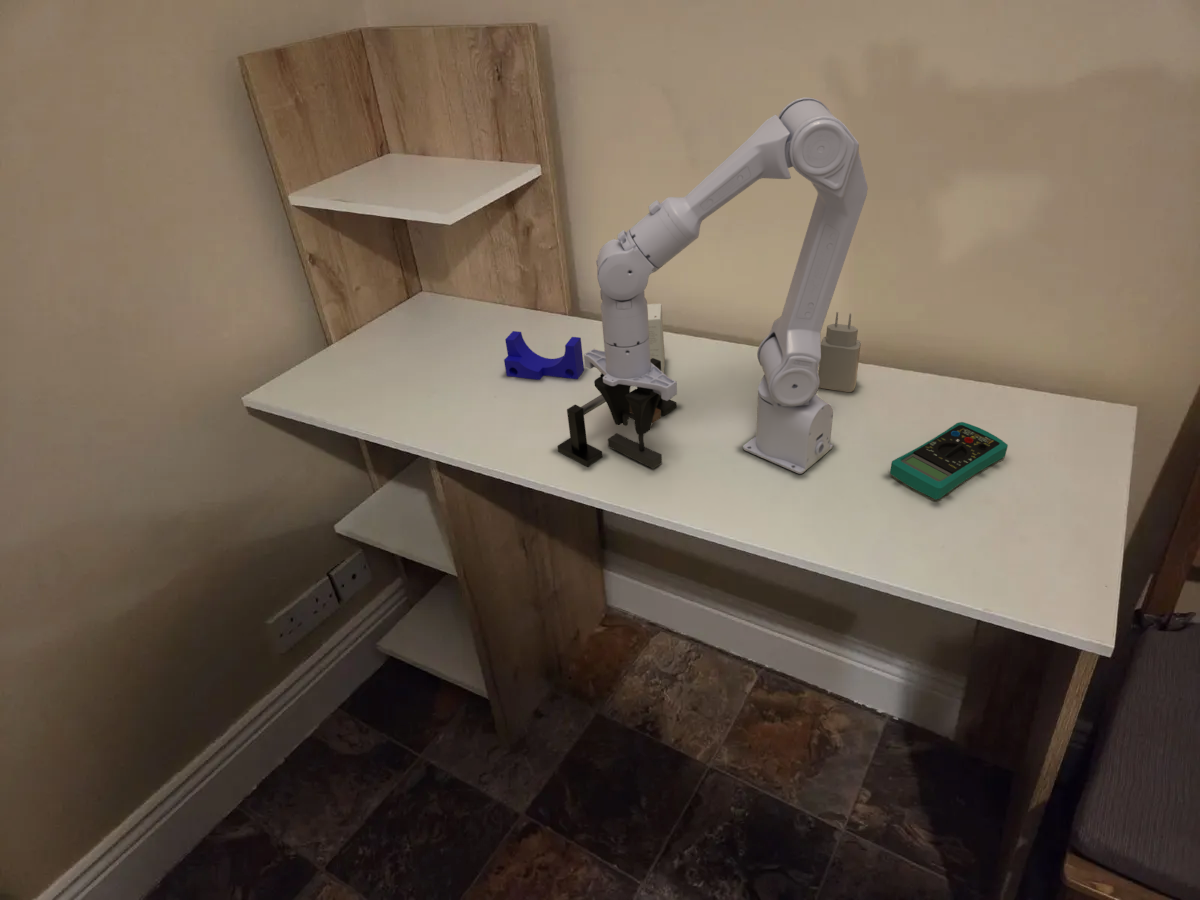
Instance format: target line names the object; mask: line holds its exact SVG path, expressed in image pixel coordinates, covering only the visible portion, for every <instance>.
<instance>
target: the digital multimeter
mask: <svg viewBox="0 0 1200 900" xmlns="http://www.w3.org/2000/svg"><path fill="white" fill-rule="evenodd" d="M1008 447H1009V445H1008V443H1006V442H1005V441H1004V440H1003V439H1001V438H999V437H998V436H997V435H994V434H993V433H991V432H989V431H987V430H985V429H983V428H980V427H978V426H975V425H973V424H970V423H967V422H963V421H959V422H956V423H955V424H953V425H952V426H950V427H949V428H947V429H946V430H944V431H943V432H941V433H940V434H938V435H936V436H935V437H933V438H931V439H930V440H928V441H926V442H925V443H923V444H921V445H919V446H918V447H915V448H914V449H912V450H910V451H909V452H907V453H905V454H903V455H901V456H899V457H897V458H894V459H893V460H891V462H890V463H891V464H890V470H889V474H890V475H891V476H893V477H894V478H896V479H897V480H898V481H900V482H902V483H904V484H905V485H906V486H908V487H910V488H912V489H914V490H915V491H918V492H919V493H921V494H923V495H925V496H928V498H932V499H934V500H940V499H942V498H943V497H944V496H946V495H947V494H948V493H949V492H951V491H952V490H954V489H955V488H956V487H958V486H959V485H960V484H962V483H964V482H966V481H967V480H969V479H970V478H972V477H973V476H974V475H976V474H978V473H979V472H981V471H982V470H984V469H986V468H988V467H989V466H991V465H993V464H994V463H996V462H998V461H1000V460H1003V458H1004V459H1005V457H1006V454H1007V450H1008Z"/></svg>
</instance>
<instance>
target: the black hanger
mask: <svg viewBox="0 0 1200 900" xmlns="http://www.w3.org/2000/svg"><path fill="white" fill-rule="evenodd" d="M627 417H628V418H629V420H630V419H631V420H633V421H634V416H633V414H632V413H630V412H628V411H625V410H624V411H622V421H623V423H622V426H623V427H627V426H629V421H628V418H627ZM644 436H645V434H644V435H642V436H639V435H637V437H638V442H636V441H634V440H632V439H630V438H629V437H626V436H624V435H622V434H620V433H617V432H615V433H614V434H613V435H611V436H610V437H608V438H607V444H608V448H610V449H613V450H614V451H616V452H618V453H621V454H623V455H624V456H627V457H628V458H631V459H633V460H635V461H636V462H639V463H641V464H643V465H644V466H647V467H649V468H651V469H653V470H654V469H655V468H657V467H658V466H659V465H661V464H662V463H663V456H662V453H660V452H657V451H656V450H653V449H651V448H649V447H647V446H645V437H644Z"/></svg>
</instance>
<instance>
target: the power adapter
mask: <svg viewBox="0 0 1200 900" xmlns="http://www.w3.org/2000/svg"><path fill="white" fill-rule="evenodd" d="M848 316H849V317H848V323H847V324H842V323H841V324H840V323H839V322H838V321H839V312H838V311H836V313H835V321H834V322H835V323H832V324H828V325H826V331H825V332H826V333H825V336H824V337H823V338H822V340H821V359H820V362H819V366H818V375H819V381H820V383H819V388H820V389H826V390H832V391H840V392H846V393H851V392H852V393H853V392H854V390H855V387H856V386H857V379H858V371H859V370H858V369H859V363H860V355H861V354H860V352H861V344H862V342H861V340H859V339H858V333H859V329H858V328H857V327H856V326H855V325H852V324H851V323H852V313H851V312H850V313H849V314H848Z"/></svg>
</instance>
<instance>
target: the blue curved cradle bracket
mask: <svg viewBox="0 0 1200 900" xmlns="http://www.w3.org/2000/svg"><path fill="white" fill-rule="evenodd" d="M504 341H505V347H506V353H507V356H506V357H505V358H504V359H503V362H504V369H505V375H506V377H509V378H519V379H526V380H527V379H528V380H538V381H541V379H542V378H543V377H544V376H545V377H553V378H554V377H555V378H562V379H570V380H571V379H572V380H578V379H579V378H580V377H581V376H582V374H583V372H584V371H585V368H584V367H585V364H584V354H583V348H582V337H579V336H571V337H570V339H569V340H568V341H567V342H566V344H565V345H564V353H563V354H564V355H561V356H559V357H555V358H548V357H544V356H541V355H539V354H537V353H536V352H534V351H533V350H532V349H531V348H530V346H528V345H527V343H526V341H525V340H524V337H523V333H522V331H517V330H513V331H511V333H510V334H509V335H507V337H506V338H505V339H504Z"/></svg>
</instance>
